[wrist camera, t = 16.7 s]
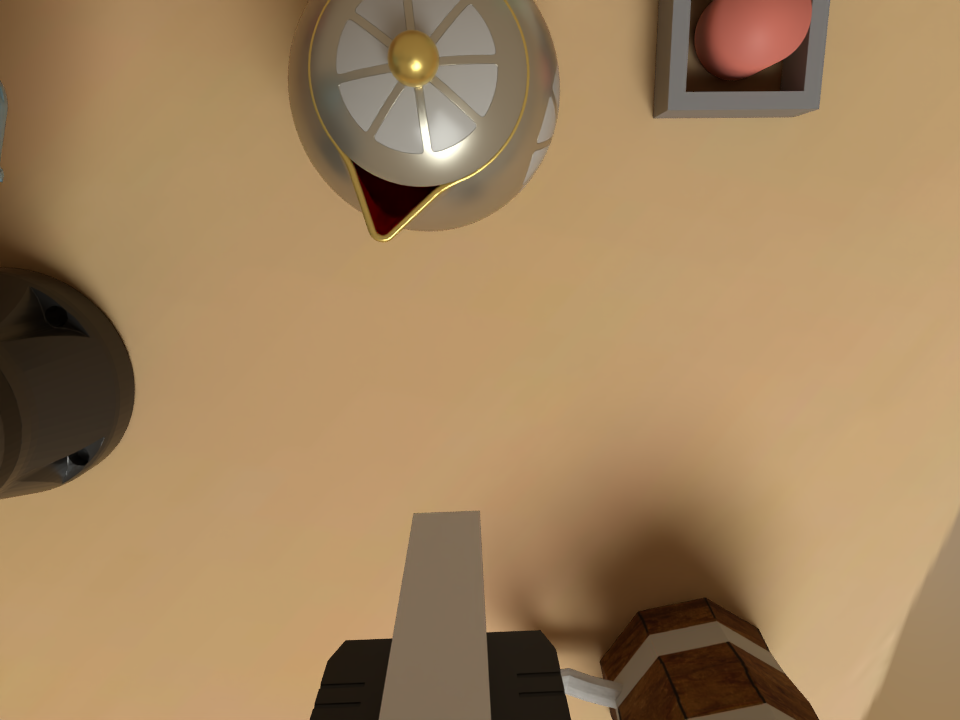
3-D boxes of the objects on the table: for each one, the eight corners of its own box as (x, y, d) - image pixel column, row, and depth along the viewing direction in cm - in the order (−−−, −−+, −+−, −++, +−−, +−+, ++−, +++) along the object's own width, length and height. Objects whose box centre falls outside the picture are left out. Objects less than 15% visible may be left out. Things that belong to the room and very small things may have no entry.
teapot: (505, 263, 42) (526, 290, 26) (304, 206, 41) (197, 197, 25) (587, -25, 38) (672, -203, 22) (368, -95, 37) (291, -335, 21)
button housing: (653, 118, 40) (667, 110, 37) (660, -40, 38) (676, -62, 35) (793, 117, 40) (819, 109, 37) (808, -40, 38) (836, -62, 35)
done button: (691, 81, 38) (717, 65, 35) (697, -9, 37) (723, -36, 33) (772, 80, 38) (806, 64, 35) (780, -10, 37) (816, -37, 33)
